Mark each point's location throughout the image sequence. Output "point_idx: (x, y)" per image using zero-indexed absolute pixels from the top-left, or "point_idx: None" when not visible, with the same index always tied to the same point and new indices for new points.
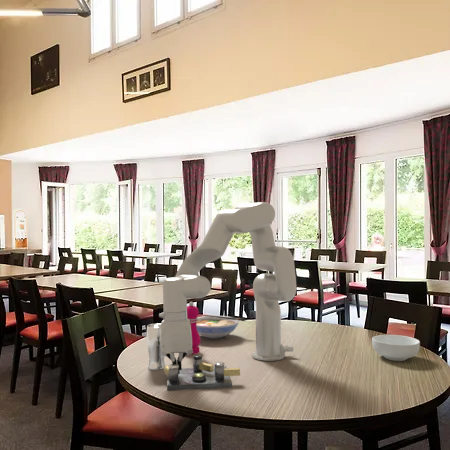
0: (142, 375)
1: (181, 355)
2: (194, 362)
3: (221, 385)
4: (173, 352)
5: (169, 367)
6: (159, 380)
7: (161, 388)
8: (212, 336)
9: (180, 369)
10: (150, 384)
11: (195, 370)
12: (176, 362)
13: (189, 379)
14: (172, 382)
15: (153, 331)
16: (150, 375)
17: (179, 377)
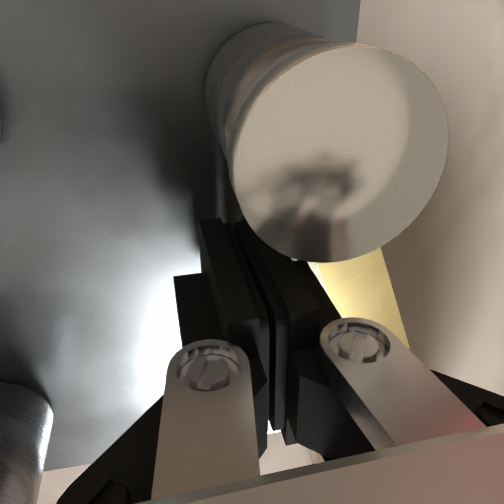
0: (492, 351)
1: (192, 447)
2: (5, 478)
3: None
4: (492, 432)
5: (428, 89)
6: (384, 248)
7: (398, 3)
8: None
9: (189, 275)
10: (482, 148)
11: (14, 390)
12: (278, 313)
13: (43, 123)
14: (286, 16)
15: None
16: (436, 353)
17: (194, 209)
